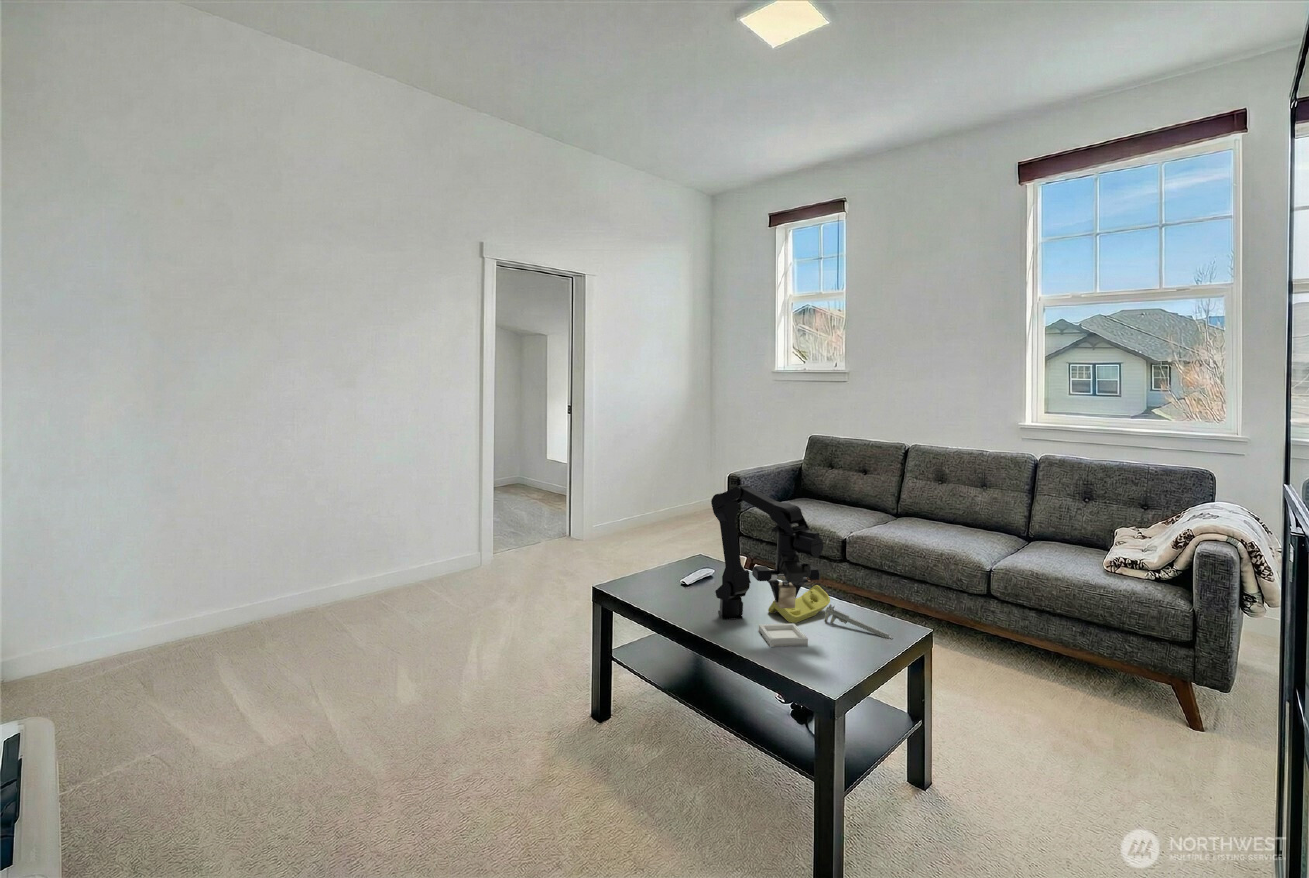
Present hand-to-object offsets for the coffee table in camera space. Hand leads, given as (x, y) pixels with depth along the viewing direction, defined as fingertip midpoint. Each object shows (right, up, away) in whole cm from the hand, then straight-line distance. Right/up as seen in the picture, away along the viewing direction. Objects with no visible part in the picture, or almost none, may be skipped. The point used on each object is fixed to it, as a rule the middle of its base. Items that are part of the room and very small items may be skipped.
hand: (784, 601), depth 174 cm
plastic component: (+10, -10, +20) cm, 25 cm away
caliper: (+24, -11, +8) cm, 27 cm away
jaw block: (0, -1, 0) cm, 1 cm away
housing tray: (-1, -11, +1) cm, 11 cm away
